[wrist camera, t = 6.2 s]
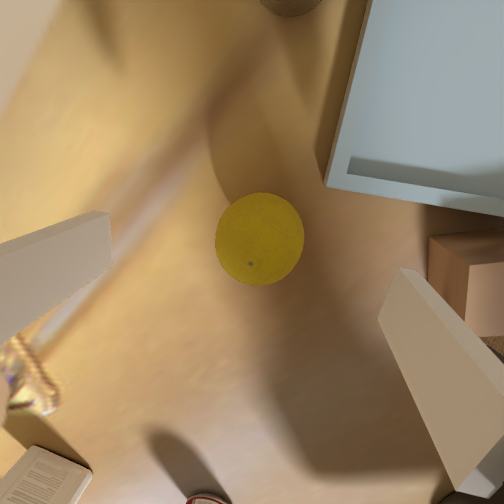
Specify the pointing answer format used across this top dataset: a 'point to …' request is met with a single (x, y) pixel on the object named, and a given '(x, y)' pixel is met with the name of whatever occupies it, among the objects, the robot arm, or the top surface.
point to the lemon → (259, 239)
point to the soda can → (205, 499)
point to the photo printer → (43, 479)
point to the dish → (425, 106)
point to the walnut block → (471, 277)
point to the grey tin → (289, 6)
